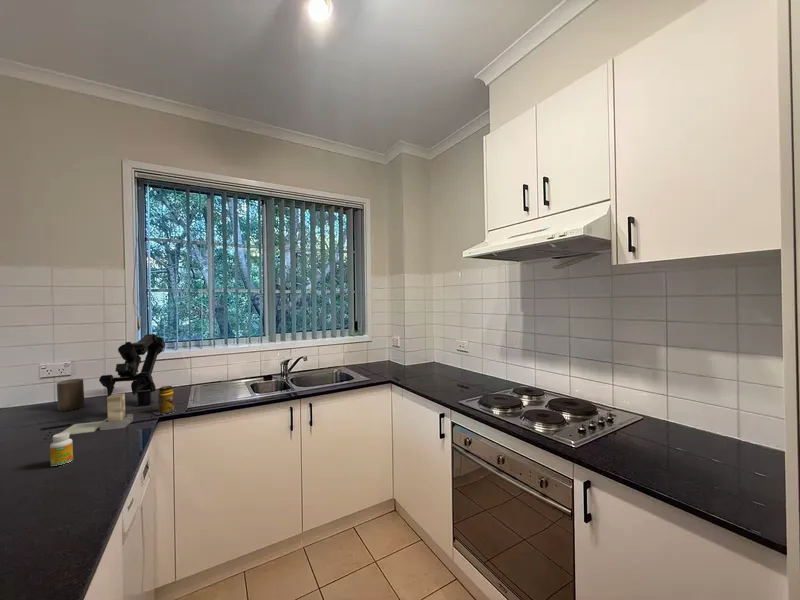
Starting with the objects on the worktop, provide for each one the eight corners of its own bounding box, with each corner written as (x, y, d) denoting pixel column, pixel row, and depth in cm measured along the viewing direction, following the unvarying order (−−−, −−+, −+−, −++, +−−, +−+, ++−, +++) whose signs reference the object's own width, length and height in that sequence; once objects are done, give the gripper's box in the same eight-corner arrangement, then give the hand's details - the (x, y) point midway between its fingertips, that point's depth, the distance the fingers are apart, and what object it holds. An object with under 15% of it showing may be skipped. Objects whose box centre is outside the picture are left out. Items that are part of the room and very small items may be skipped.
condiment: (176, 412, 164) (175, 387, 164) (154, 416, 158) (154, 390, 158) (173, 408, 169) (172, 384, 169) (152, 412, 163) (151, 387, 163)
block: (113, 424, 149) (112, 394, 149) (125, 422, 151) (124, 393, 150) (108, 428, 145) (107, 397, 145) (121, 426, 147) (119, 396, 146)
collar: (109, 423, 151) (109, 416, 151) (133, 420, 153) (132, 413, 153) (99, 430, 143) (99, 423, 143) (124, 427, 145) (124, 420, 145)
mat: (74, 425, 149) (74, 424, 149) (108, 421, 153) (108, 420, 153) (56, 436, 138) (56, 435, 138) (93, 431, 141) (93, 430, 141)
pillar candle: (87, 406, 173) (86, 377, 173) (61, 412, 165) (60, 381, 165) (80, 404, 178) (79, 375, 178) (54, 409, 170) (53, 379, 170)
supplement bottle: (53, 469, 111) (52, 439, 111) (48, 464, 114) (47, 435, 114) (75, 461, 116) (74, 433, 116) (70, 458, 119) (69, 430, 119)
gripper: (100, 357, 154) (87, 388, 144) (149, 354, 160) (140, 384, 150) (109, 371, 162) (98, 401, 151) (156, 368, 167) (148, 396, 157)
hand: (121, 395), depth 152 cm, fingers open, 9 cm apart
